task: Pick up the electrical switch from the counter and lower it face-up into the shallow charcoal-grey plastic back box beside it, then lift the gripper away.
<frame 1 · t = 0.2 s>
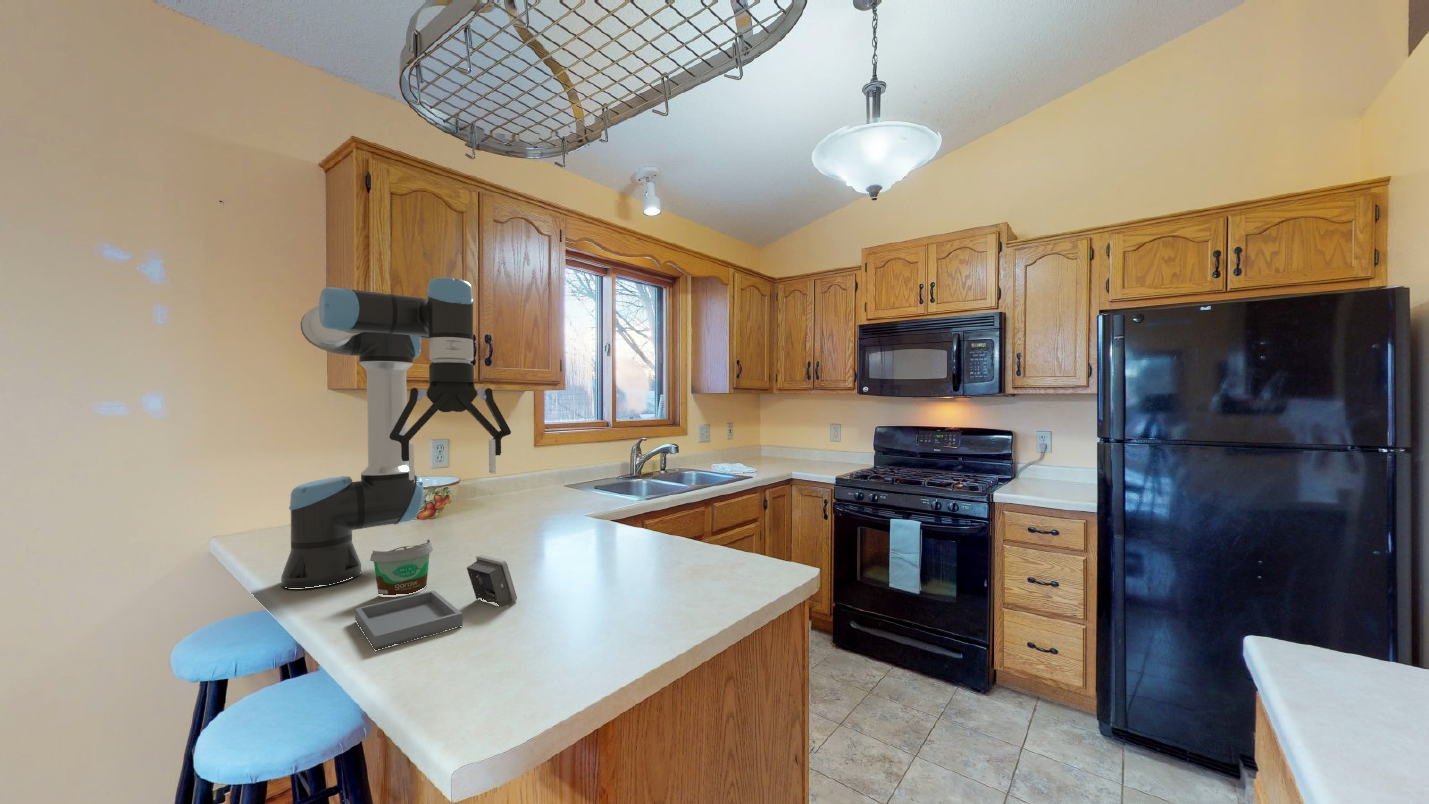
hand: (453, 476, 99), 27 cm above the countertop, tool pointing down, fingers open, 13 cm apart
electrical switch: (493, 603, 108), on the countertop
back box: (408, 624, 98), on the countertop
food container: (408, 593, 115), on the countertop
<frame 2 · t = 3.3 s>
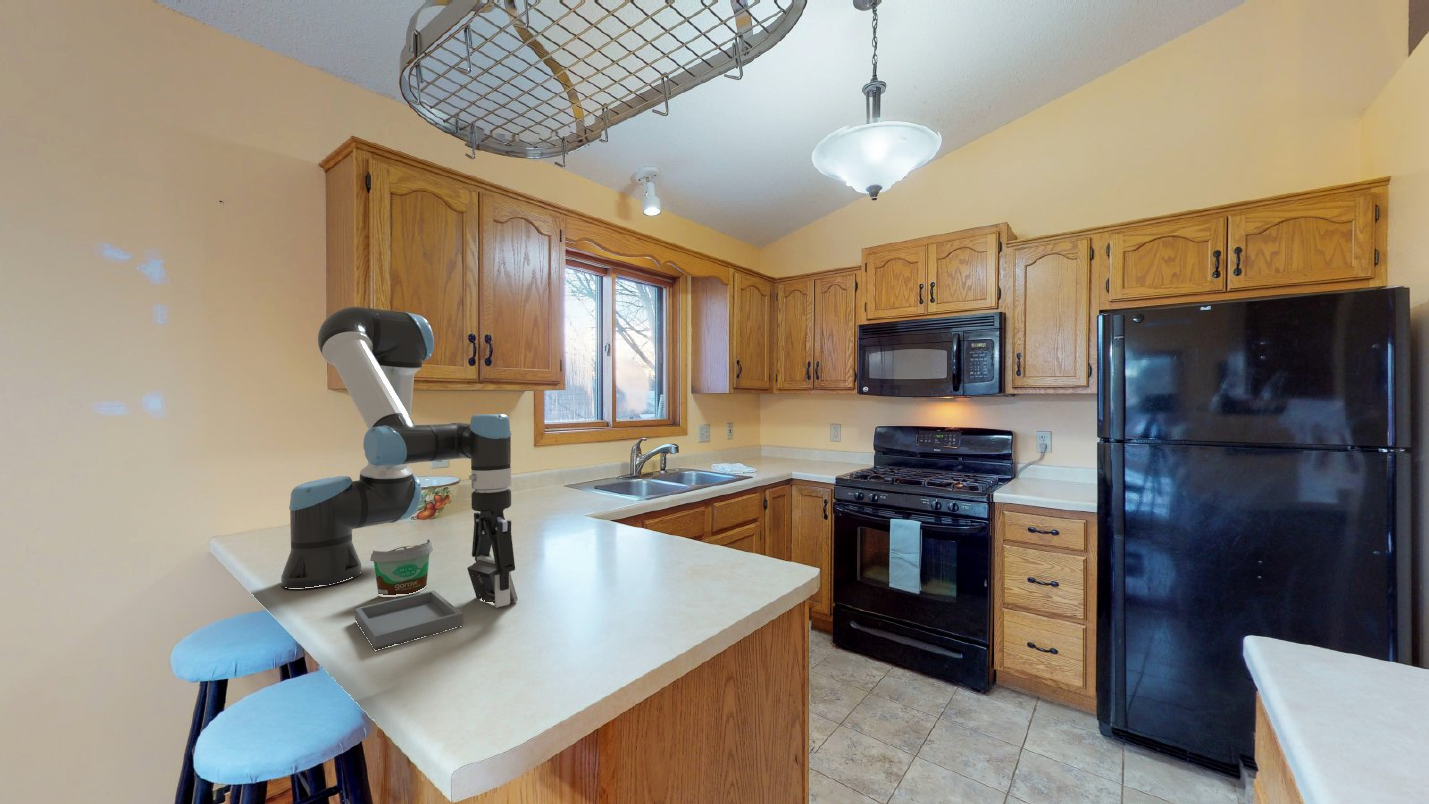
hand: (492, 598, 109), 1 cm above the countertop, tool pointing down, fingers closed on electrical switch, 9 cm apart
electrical switch: (493, 603, 108), on the countertop, touching gripper
everything else where it was.
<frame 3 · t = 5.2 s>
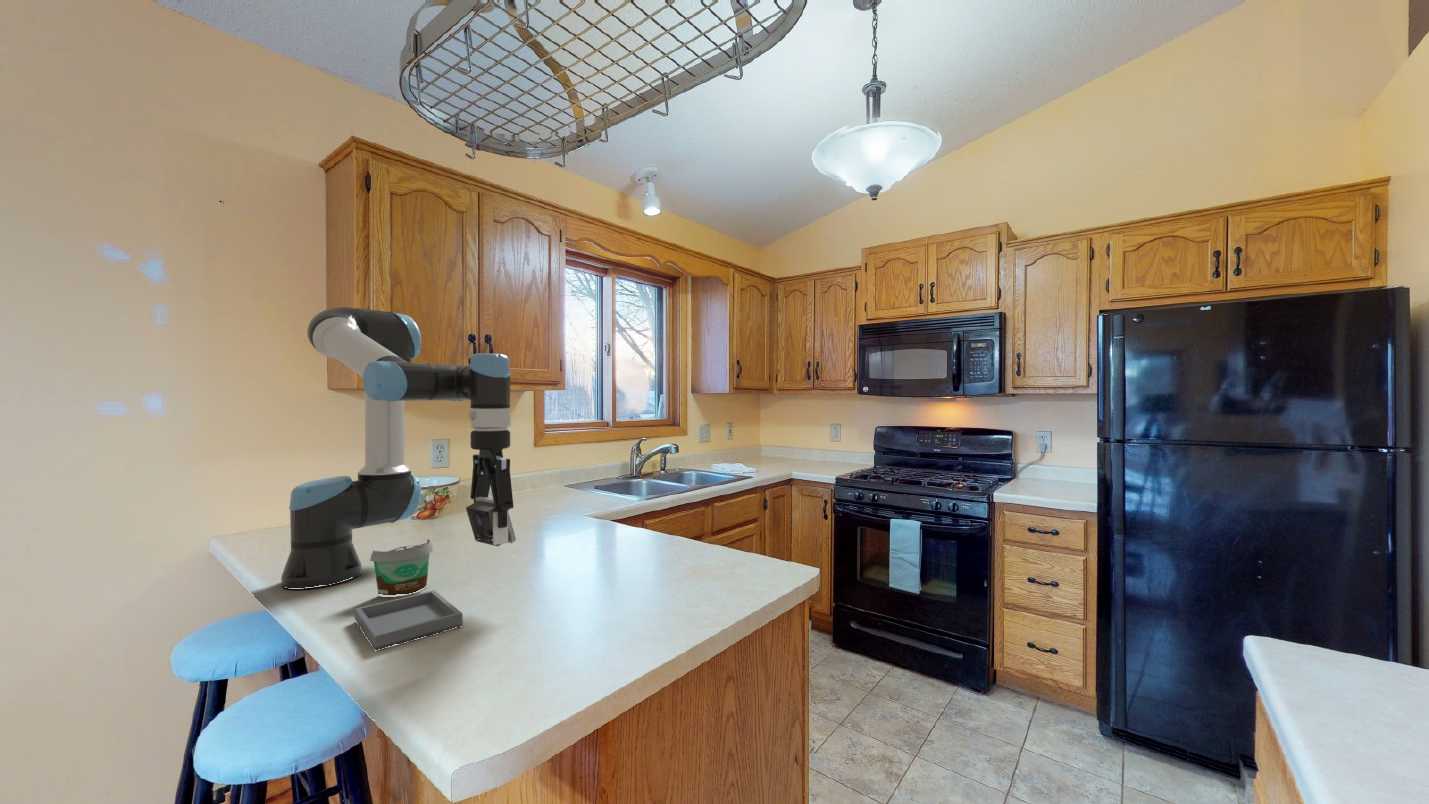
hand: (491, 538, 109), 13 cm above the countertop, tool pointing down, fingers closed on electrical switch, 9 cm apart
electrical switch: (491, 543, 108), point 12 cm above the countertop, touching gripper
everything else where it was.
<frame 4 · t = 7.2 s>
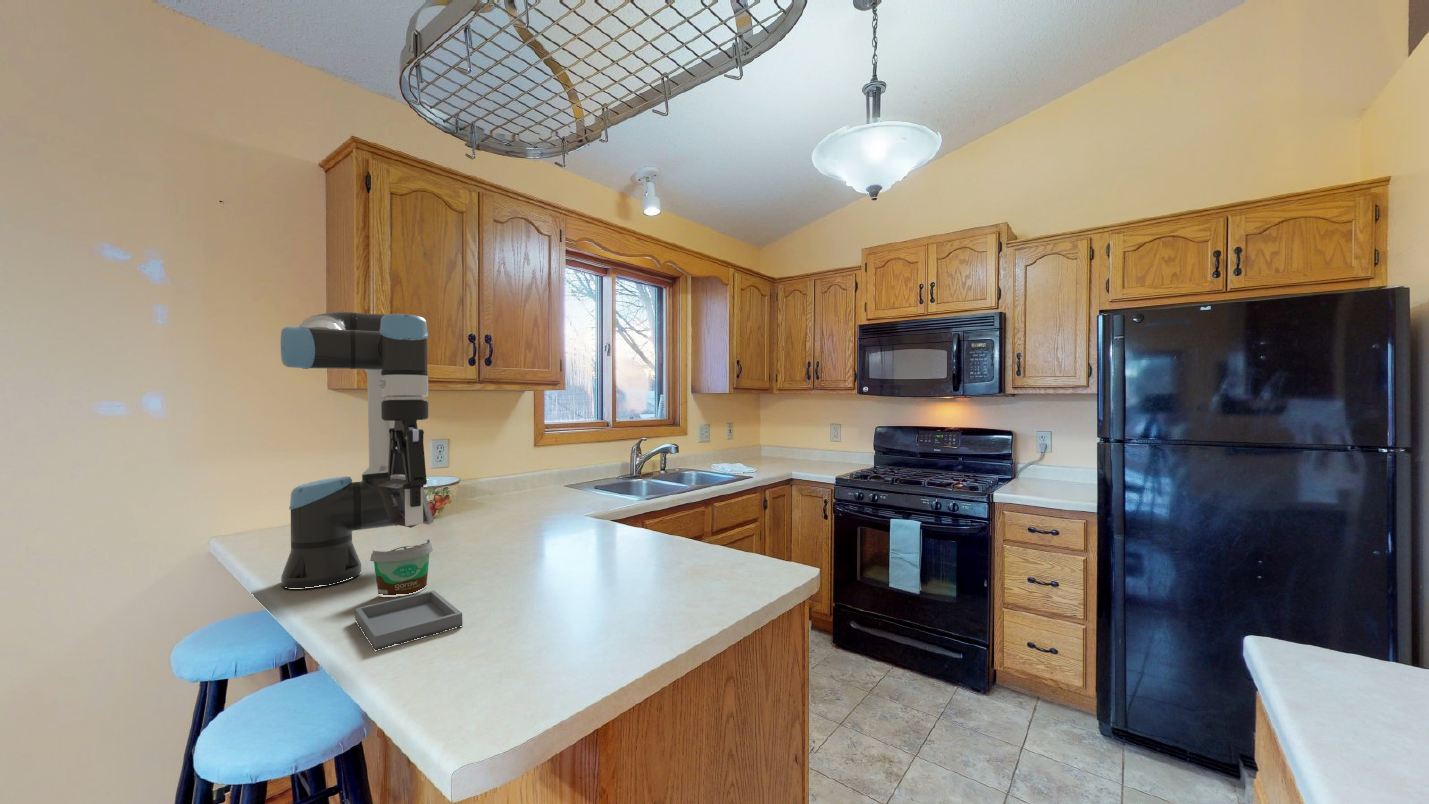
hand: (406, 520, 98), 19 cm above the countertop, tool pointing down, fingers closed on electrical switch, 9 cm apart
electrical switch: (407, 525, 97), point 18 cm above the countertop, touching gripper
everything else where it was.
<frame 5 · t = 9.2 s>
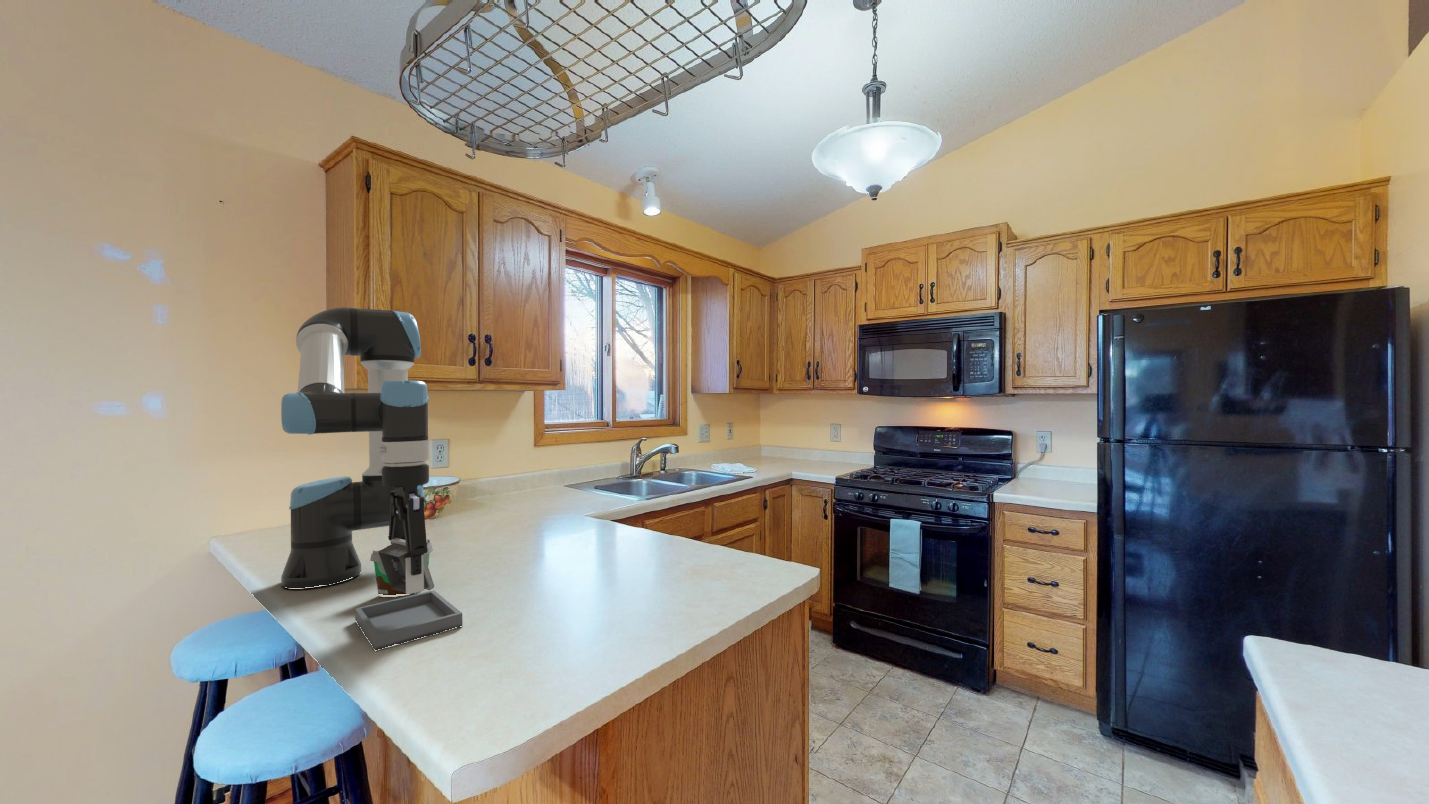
hand: (407, 585, 98), 7 cm above the countertop, tool pointing down, fingers closed on electrical switch, 9 cm apart
electrical switch: (407, 591, 97), point 6 cm above the countertop, touching gripper
everything else where it was.
when the fingers open (3 cm above the countertop, at t = 11.0 s): electrical switch drops 2 cm, resting on back box.
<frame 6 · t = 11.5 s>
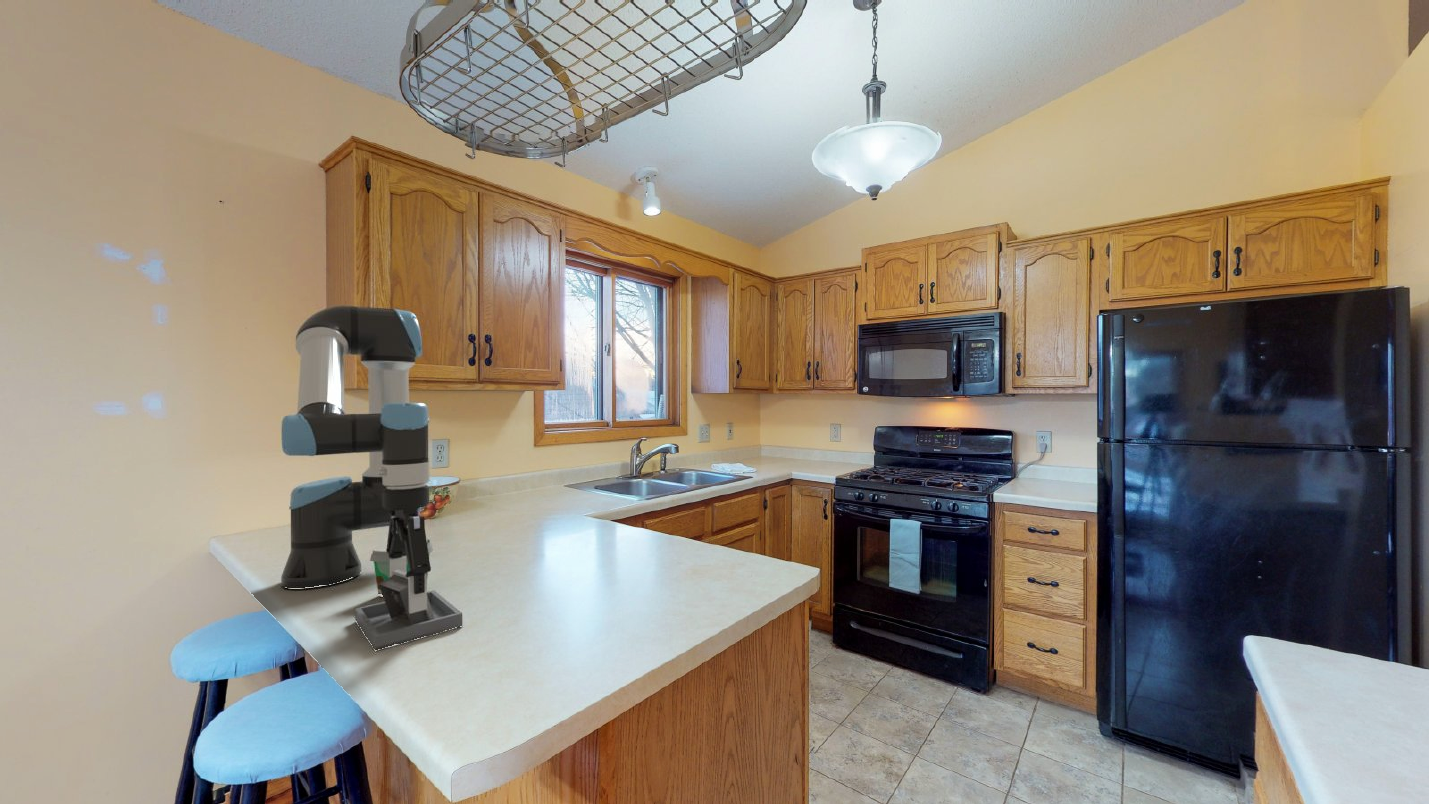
hand: (407, 601, 98), 4 cm above the countertop, tool pointing down, fingers open, 13 cm apart
electrical switch: (408, 623, 97), resting on back box
everything else where it was.
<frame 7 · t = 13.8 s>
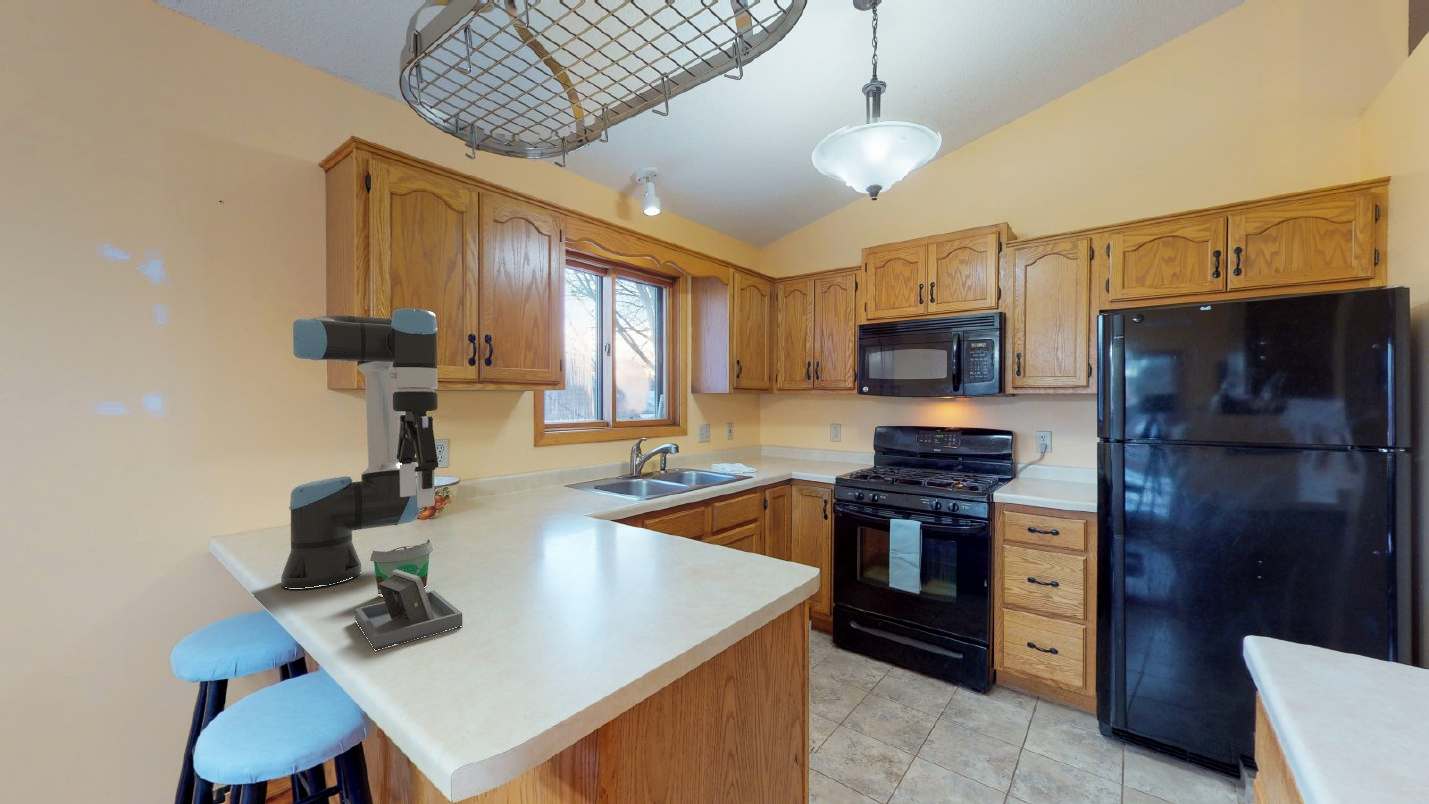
hand: (416, 501, 102), 22 cm above the countertop, tool pointing down, fingers open, 13 cm apart
nothing on the countertop moved.
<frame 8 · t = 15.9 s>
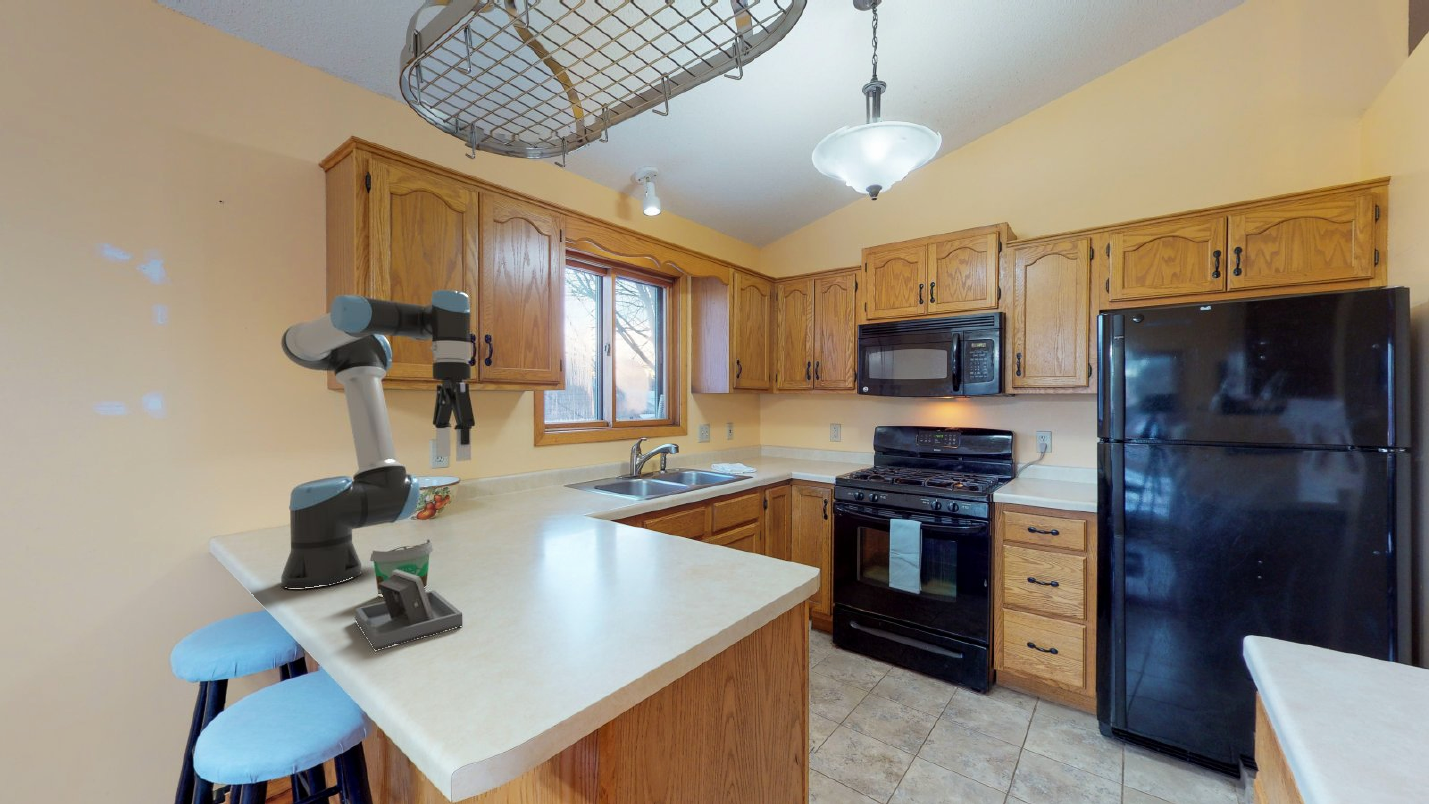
hand: (453, 458, 117), 29 cm above the countertop, tool pointing down, fingers open, 13 cm apart
nothing on the countertop moved.
at the end: electrical switch 0.8 cm off-centre on the back box, point 0.4 cm above the back box's base; electrical switch tilted 0°; the gripper is holding nothing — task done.
